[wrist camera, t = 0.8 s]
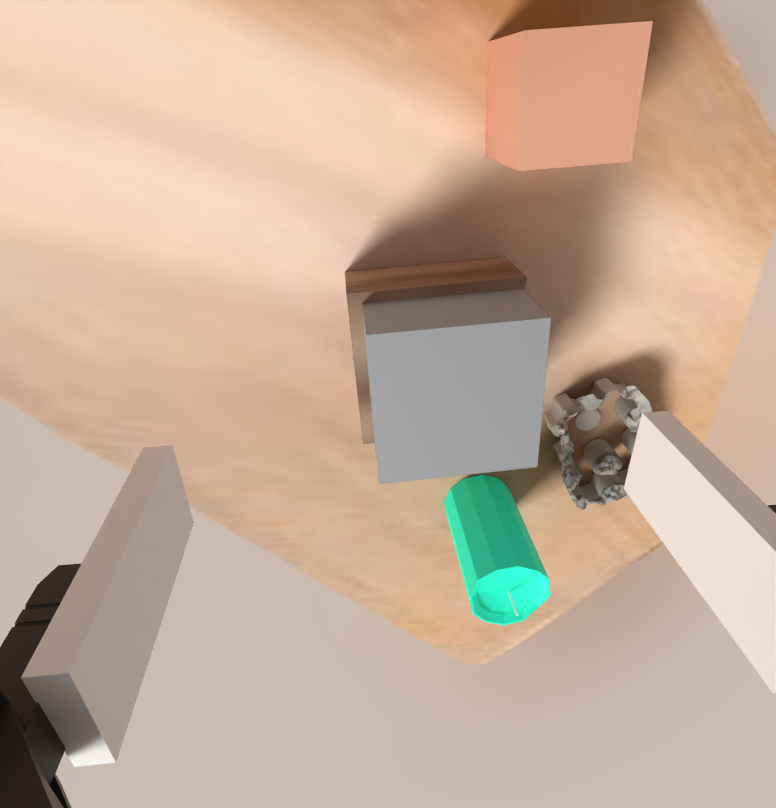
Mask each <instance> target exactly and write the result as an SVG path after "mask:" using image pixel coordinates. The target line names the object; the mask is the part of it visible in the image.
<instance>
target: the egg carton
mask: <svg viewBox="0 0 776 808" xmlns="http://www.w3.org/2000/svg"><path fill="white" fill-rule="evenodd" d="M613 391H618V392H619V393H620V394H621V396H620V397H619V398H618V399H617V400H616V402H615V405H614V410H615V412H616V413H617V414H618V416H619V417H620V418H621V419H622V421H623V422H624V423H625V424H626V425H627V427H628V428H627V429H626V430H625V431H624V432H623V434H622V436H621V441H622V443H623V444H624V446H625V447H626V448H627V450H628V451H629V452H630V453H631V454H632V452H633V448H634V444H635V440H636V436H637V432H638V428H639V423H640V419H641V415H642V413H643V412H652V408H651V405H650V402H649V401H648V400H647V398H646V397H645V396H644V395H643V394H642V393H641V392H640V391H639V390H638V389H637V388H636V387H635V386H628V387H627V386H626V385H625V384H624V383H619V384H614V383H612V382H611V381H610V380H609V379H608V378H602V379H599V380H596V381H594V387H593V389H592V391H591V393H590V394H588V395H587V396H583V397H579V398H577V399H572V398H570V397H569V396H568V395H567V394H566V393H563V394H560V395H557V396H555V397H554V401H553V405H552V407H551V408H550V410H549V411H547V412H546V413H545V419H546V422H547V426H548V429H550V430H551V431H552V433H553V434H554V435H555V436H556V437H560V440H559V441H558V442H557V443H555V444H554V445H553V446H554V448H555V451H556V453H557V456H558V459H559V461H560V463H561V464H562V466H561V475H562V478H563V481H564V483H565V486H566V488H567V490H568V492H569V494H570V495H571V499H572V500H573V501H574V502H575V504H576V506H577V508H579V509H581V510H582V509H585V508H586V505H588V504H592V503H598V504H600V505H605V503H606V502H608V501H610V500H619V499H621V498H626V497H629V495H628V494H627V492H626V491H625V490H624V485H625V481H626V477H627V473H628V469H629V465H630V462H629V464H628V466H627V469H626V470H623V471H620V472H617V471H618V470H620V469H621V468H622V465H623V462H622V461H621V460H620V457H619V456H618V455H617V453H616V452H615V451H614V449H613V448H612V447H611V446H610V444H609V443H608V442H607V441H605V440H603V439H594V440H592V441H590V442H589V443H587V444H586V446H585V447H584V450H583V456H584V457H585V459H586V460H587V462H588V463H589V465H590V466H591V468H592V470H593V471H594V474H593V475H592V477H591V482H590V483H589V484H586V485H584V486H581V487H580V486H579V485H578V484H579V482H580V478H581V477H582V476H583V475H582V473H581V472H580V471H579V470H578V468H577V466H576V465H575V463H574V462H573V458H572V454H573V452H574V450H575V449H574V446H575V444H574V443H573V442H572V441H571V440H570V439H569V434H568V421H569V420H570V419H571V418H572V417H574V416H576V415H577V414H578V412H579V411H580V410H581V412H580V413H579V414H578V415H577V416H576V418H575V425H576V427H577V429H579V430H581V431H590V430H593V429H594V428H596V427H597V426H598V425H599V424H600V422H601V416H602V414H601V412H600V411H599V410H597V408H598V407H599V406H601V405H602V403H603V401H604V400H605V398H606V397H607V394H608V393H610V392H613Z"/></svg>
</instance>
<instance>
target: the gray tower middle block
mask: <svg viewBox="0 0 776 808" xmlns="http://www.w3.org/2000/svg"><path fill="white" fill-rule="evenodd" d="M362 311H363V322H364V333H365V344H366V355H367V366H368V377H369V388H370V399H371V409H372V420H373V431H374V442H375V450H376V458H377V466H378V474H379V482H380V484H384V483H394V482H403V481H412V480H422V479H431V478H440V477H450V476H459V475H468V474H478V473H487V472H496V471H506V470H515V469H524V468H534V467H537V465H538V454H539V443H540V433H541V422H542V411H543V400H544V390H545V379H546V368H547V357H548V346H549V336H550V325H551V317H550V316H549V315H548V314H547V313H546V312H545V311H544V310H543V309H542V308H541V307H540V306H539V305H538V304H537V303H536V302H535V301H534V300H533V299H532V298H531V297H530V296H529V295H528V294H527V293H526V291H525V290H524V289H515V290H505V291H494V292H483V293H472V294H461V295H450V296H439V297H428V298H417V299H406V300H395V301H384V302H373V303H362Z"/></svg>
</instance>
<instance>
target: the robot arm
mask: <svg viewBox="0 0 776 808" xmlns="http://www.w3.org/2000/svg"><path fill="white" fill-rule="evenodd" d="M624 490H625V491H626V492H627V494H628V495H629V497H630V498H631V499H632V501H633V502H634V503H635V505H636V506H637V508H638V509H639V510H640V512H641V513H642V514H643V516H644V517H645V518H646V520H647V521H648V523H649V524H650V525H651V527H652V528H653V529H654V531H655V532H656V534H657V535H658V536H659V538H660V539H661V540H662V542H663V543H664V544H665V546H666V547H667V549H668V550H669V551H670V553H671V554H672V555H673V557H674V558H675V559H676V561H677V562H678V564H679V565H680V566H681V568H682V569H683V570H684V572H685V573H686V575H687V576H688V577H689V579H690V580H691V581H692V583H693V584H694V586H695V587H696V588H697V590H698V591H699V592H700V594H701V595H702V596H703V598H704V599H705V601H706V602H707V603H708V605H709V606H710V607H711V609H712V610H713V611H714V613H715V614H716V616H717V617H718V618H719V620H720V621H721V622H722V624H723V625H724V627H725V628H726V629H727V631H728V632H729V633H730V635H731V636H732V638H733V639H734V640H735V642H736V643H737V644H738V646H739V647H740V648H741V650H742V651H743V652H744V654H745V655H746V657H747V658H748V659H749V661H750V662H751V663H752V665H753V666H754V667H755V669H756V670H757V672H758V673H759V674H760V676H761V677H762V679H763V680H764V681H765V683H766V684H767V685H768V687H769V688H770V689H771V691H772V692H773V693H776V505H769V506H767V505H766V504H765V503H764V502H763V501H762V500H761V499H760V498H759V497H758V496H757V495H756V494H755V493H754V492H753V491H752V490H751V489H749V488H748V487H747V486H746V485H745V484H744V483H743V482H742V481H741V480H740V479H739V478H738V477H737V476H736V475H735V474H734V473H733V472H732V471H731V470H730V469H729V468H727V467H726V466H725V465H724V464H723V463H722V462H721V461H720V460H719V459H718V458H717V457H716V456H715V455H714V454H713V453H712V452H711V451H710V450H709V449H708V448H707V447H705V446H704V445H703V444H702V443H701V442H700V441H699V440H698V439H697V438H696V437H695V436H694V435H693V434H692V433H691V432H690V431H689V430H688V429H687V428H686V427H685V426H683V425H682V424H681V423H680V422H679V421H678V420H677V419H676V418H675V417H674V416H673V415H672V414H671V413H670V412H669V411H657V412H643V413H642V415H641V419H640V423H639V428H638V432H637V436H636V440H635V444H634V448H633V452H632V456H631V460H630V465H629V469H628V473H627V477H626V481H625V485H624ZM193 523H194V522H193V519H192V515H191V512H190V508H189V504H188V500H187V497H186V493H185V489H184V486H183V482H182V478H181V475H180V471H179V467H178V464H177V460H176V457H175V453H174V449H173V446H159V447H145V448H143V449H142V451H141V453H140V455H139V457H138V459H137V461H136V463H135V464H134V466H133V468H132V470H131V472H130V474H129V476H128V478H127V479H126V481H125V483H124V485H123V487H122V489H121V491H120V493H119V495H118V496H117V498H116V500H115V502H114V504H113V506H112V508H111V510H110V511H109V513H108V515H107V517H106V519H105V521H104V523H103V525H102V526H101V529H100V530H99V532H98V534H97V536H96V538H95V540H94V541H93V543H92V545H91V547H90V549H89V551H88V553H87V555H86V556H85V558H84V560H83V562H82V564H71V565H59V566H57V567H56V568H55V569H54V570H53V571H52V572H51V573H50V574H49V575H48V576H47V577H45V578H44V579H43V580H42V581H41V582H40V583H39V584H38V585H37V587H36V588H35V590H34V592H33V593H32V595H31V597H30V598H29V600H28V602H27V603H26V605H25V606H26V607H25V610H22V612H21V614H20V615H19V617H18V619H17V620H16V622H15V627H12V629H11V630H10V632H9V634H8V635H7V637H6V639H5V640H4V642H3V644H2V646H1V647H0V808H71V806H70V803H69V802H68V799H67V797H66V794H65V792H64V790H63V787H62V785H61V783H60V781H59V779H58V778H57V776H56V774H55V773H56V770H57V768H58V765H59V763H60V761H61V758H62V756H63V753H64V751H65V752H66V754H67V756H68V757H69V759H70V761H71V762H72V764H73V766H74V767H78V766H87V765H97V764H107V763H116V761H117V758H118V754H119V751H120V748H121V745H122V742H123V739H124V736H125V732H126V730H127V726H128V724H129V721H130V717H131V714H132V711H133V708H134V705H135V702H136V699H137V696H138V693H139V690H140V687H141V683H142V680H143V677H144V674H145V671H146V668H147V665H148V662H149V659H150V655H151V653H152V649H153V646H154V643H155V640H156V637H157V634H158V631H159V628H160V625H161V622H162V618H163V615H164V612H165V609H166V606H167V603H168V600H169V597H170V594H171V590H172V588H173V584H174V582H175V579H176V575H177V572H178V569H179V566H180V563H181V560H182V557H183V554H184V550H185V548H186V544H187V541H188V538H189V535H190V532H191V529H192V526H193Z"/></svg>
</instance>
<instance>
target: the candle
mask: <svg viewBox="0 0 776 808" xmlns="http://www.w3.org/2000/svg"><path fill="white" fill-rule="evenodd" d="M444 504H445V509H446V514H447V518H448V522H449V526H450V530H451V533H452V537H453V541H454V544H455V548H456V552H457V556H458V559H459V563H460V567H461V571H462V574H463V578H464V582H465V586H466V589H467V593H468V597H469V601H470V604H471V608H472V612H473V614H474V615H475V616H477V617H478V618H480V619H482V620H483V621H485V622H489V623H494V624H499V625H507V624H511V623H515V622H519V621H523V620H525V619H526V618H527V617H528V616H529V615H530V614H532V613H533V612H534V611H535V610H536V609H537V608H538V607H539V606H540V605H541V604H542V603H543V602H545V601H546V600H547V599H548V598H549V597H550V596H551V593H550V585H549V578H548V576H547V573H546V571H545V569H544V567H543V564H542V562H541V560H540V558H539V555H538V553H537V551H536V549H535V546H534V544H533V542H532V539H531V537H530V535H529V533H528V530H527V528H526V526H525V524H524V521H523V519H522V517H521V515H520V512H519V510H518V508H517V506H516V503H515V501H514V499H513V496H512V494H511V492H510V490H509V488H508V487H507V486H506V485H505V484H504V483H503V482H502V481H501V480H500V479H499V478H495V477H491V476H487V475H478V476H473V477H469V478H465V479H463V480H462V481H460V482H459V483H458V484H456V485H455V486H453V487H452V488H451V489H450V491H449V493H448V495H447V497H446V499H445V501H444Z"/></svg>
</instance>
